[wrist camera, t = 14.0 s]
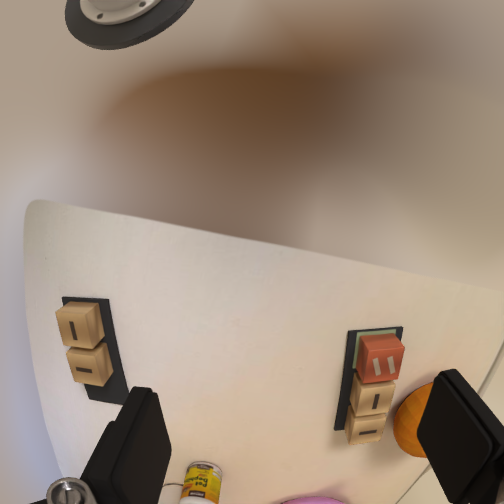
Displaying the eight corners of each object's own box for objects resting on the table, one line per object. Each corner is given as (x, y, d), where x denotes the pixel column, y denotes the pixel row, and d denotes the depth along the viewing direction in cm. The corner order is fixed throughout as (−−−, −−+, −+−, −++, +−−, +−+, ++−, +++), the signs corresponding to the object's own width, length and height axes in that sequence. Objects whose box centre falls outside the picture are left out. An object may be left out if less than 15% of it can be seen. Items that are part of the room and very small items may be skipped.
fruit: (442, 356, 36) (478, 397, 26) (464, 399, 38) (493, 437, 28) (373, 408, 38) (395, 458, 28) (404, 443, 40) (424, 486, 30)
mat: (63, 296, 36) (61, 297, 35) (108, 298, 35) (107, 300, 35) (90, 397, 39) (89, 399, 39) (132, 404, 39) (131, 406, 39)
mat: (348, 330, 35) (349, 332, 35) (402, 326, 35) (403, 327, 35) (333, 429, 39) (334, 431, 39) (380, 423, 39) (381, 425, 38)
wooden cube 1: (69, 301, 35) (54, 312, 32) (98, 302, 35) (84, 314, 31) (76, 332, 36) (63, 345, 33) (105, 335, 36) (92, 349, 32)
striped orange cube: (359, 335, 35) (368, 351, 31) (393, 332, 35) (405, 347, 31) (355, 367, 36) (363, 384, 32) (388, 363, 36) (398, 379, 32)
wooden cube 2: (78, 339, 36) (65, 352, 33) (106, 342, 36) (94, 357, 33) (86, 367, 37) (74, 382, 34) (113, 371, 37) (102, 387, 34)
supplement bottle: (213, 458, 41) (205, 510, 31) (227, 477, 42) (222, 527, 32) (181, 462, 41) (168, 511, 31) (196, 481, 43) (187, 528, 33)
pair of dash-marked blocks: (354, 372, 36) (361, 389, 33) (386, 369, 36) (396, 385, 33) (343, 427, 38) (349, 445, 35) (373, 424, 38) (380, 441, 35)
